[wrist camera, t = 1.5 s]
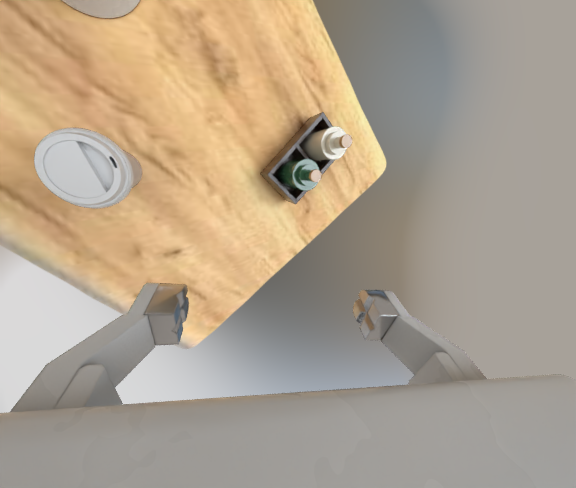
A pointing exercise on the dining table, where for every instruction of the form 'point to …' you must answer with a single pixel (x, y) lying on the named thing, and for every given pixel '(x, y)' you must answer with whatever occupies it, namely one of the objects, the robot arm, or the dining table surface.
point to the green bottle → (299, 174)
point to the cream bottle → (326, 144)
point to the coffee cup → (86, 168)
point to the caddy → (296, 157)
